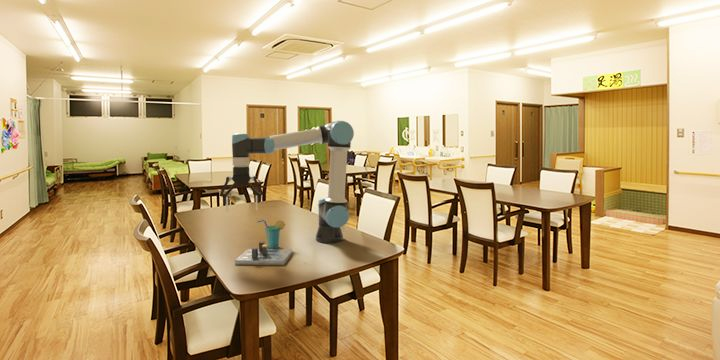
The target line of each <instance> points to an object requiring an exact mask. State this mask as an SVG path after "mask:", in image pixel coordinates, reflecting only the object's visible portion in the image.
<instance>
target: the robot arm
mask: <svg viewBox="0 0 720 360" xmlns="http://www.w3.org/2000/svg"><path fill="white" fill-rule="evenodd" d="M354 136H355V131H354V127H353V126H352V125H351V124H350V123H349V122H347V121H345V120H336V121H332V122H328V123H326V124H323V125H317V127H315V128H312V129H305V130H300V131H299V130H298V131H294V132H287V133H281V134H275V135H269V136H264V137H249V134H248V133H233V134H232V135H231V138H232V139H231V148H232V151H231V152H232V154H231V155H232V166H233V167H232V176H226V179H225V182H224V185H223V186H222V189H221V191H220V193H219V197H220V198H221V197H222V198H223V204H224V205H225V206H226V207H225V209H226V212H229V197H228V195H229V194H230V193H231V191H232V190H233V189H234V188H235V187H236V186H238V187H240V186H242V187H244V186H247V187H249V189H250V190H251V191H252V192H253V193H254V194H255V210H256V211H258V207H259V206H258V204H259V203H261V196H264V191H263V189H262V188H261V186H260V184H259V182H258V180H257V176H256V175H252V176H250V167H249V166H250V155H251V154H252V155H253V154H261V155H262V154H266V155H268V154H274V153H275V151H278V150H283V149H291V148H295V147H301V146H307V145H312V144H313V145H314V144H320V145H323V144H327V148H328V149H329V150H330V156H329V170H328V171H329V173H328V175H329V176H328V192H327V195H328V196H327V198H320V199H319V200H318V204H317V206H318V228H317V231H316V234H315V241H316V242H318V243H324V244H329V243H330V244H331V243H333V244H334V243H338V242H342V241H344V234H343V231H342V228H341V227H344V226H345V225H346V224H347V223H348V222H349V219H350V213H349V210H348V200H347V199H346V180H347V179H346V178H347V165H348V164H347V162H348V151H349V150H350V149H351V146H352V145H351V144H352V143H351V142H352V140H353V139H354ZM251 180H252V181H253V182H254V183H255V186H256V188H257V189H258V191H259V192H258V191H257V189H256V188H255V187H254V186H253V185H252V184H251V183H250V181H251ZM231 181H233V183H232V185H231V186H230V187H229V188H228V189H227V191H226V192H225V190H226V188H227V187H228V185H229V182H231ZM224 192H225V193H224Z"/></svg>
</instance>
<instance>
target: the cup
mask: <svg viewBox="0 0 720 360" xmlns="http://www.w3.org/2000/svg"><path fill="white" fill-rule="evenodd" d="M261 222H262V223H264V226H265V228H264V230H265V232H266V233H265V235H266V242H267V245H268V249H278V248H279V245H280V231H281V230H283V229H285V226H286V223H285V222H284V221H283V220H281V219H279V220H276V221H275V223H274V225H268V224H267V221H266V219H260V220H257V221H256V223H261Z"/></svg>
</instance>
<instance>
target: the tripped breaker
mask: <svg viewBox="0 0 720 360" xmlns="http://www.w3.org/2000/svg"><path fill="white" fill-rule="evenodd" d="M268 249H269V248H268V244H265V245H262V254H267V253H268Z"/></svg>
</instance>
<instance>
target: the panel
mask: <svg viewBox="0 0 720 360" xmlns="http://www.w3.org/2000/svg"><path fill="white" fill-rule="evenodd" d="M265 243H266V242H265V241H259V242H258V247H253V248H247V249H246V250H245V251H244V252H243V253H241V254H240V255H239V256H238V257H237V258H235V260H234V265H239V266H241V265H242V266H243V265H245V266H250V265H251V266H255V265H256V266H285V264H287V262H288V260H289V259H290V257H291V256H292V255H293V249H288V248H287V249H285V248H284V249H283V248H282V249H281V248H279V249H278V248H275V249H270V248H268V253H267V254H262V245H266V244H265Z"/></svg>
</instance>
